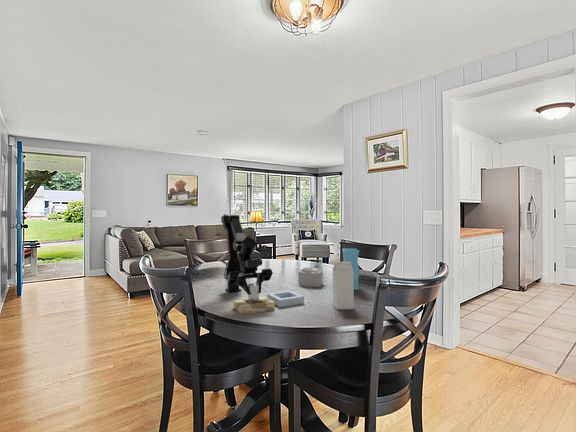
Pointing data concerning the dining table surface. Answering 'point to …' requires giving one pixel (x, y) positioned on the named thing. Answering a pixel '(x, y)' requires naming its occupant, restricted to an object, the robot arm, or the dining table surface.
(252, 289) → the steel axle
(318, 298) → the dining table surface
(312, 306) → the dining table surface
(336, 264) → the milk carton
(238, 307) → the tan rectangular frame
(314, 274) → the lumpy-topped squat cylinder
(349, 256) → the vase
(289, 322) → the dining table surface
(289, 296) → the seat block
